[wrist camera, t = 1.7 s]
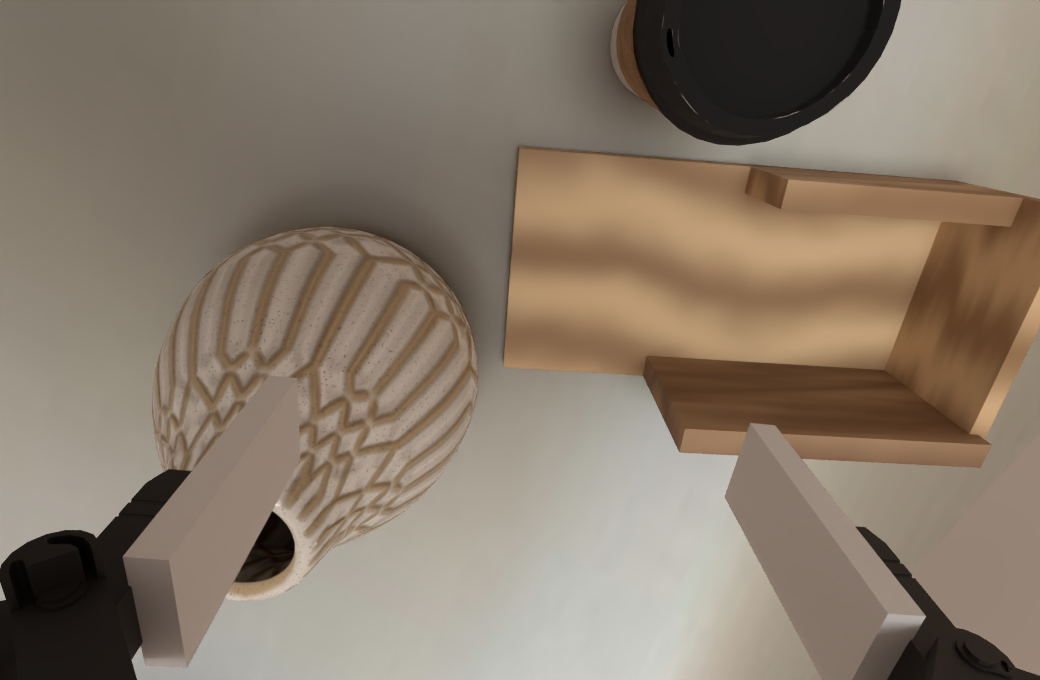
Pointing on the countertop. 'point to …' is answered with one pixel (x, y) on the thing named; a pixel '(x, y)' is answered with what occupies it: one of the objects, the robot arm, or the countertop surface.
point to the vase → (322, 384)
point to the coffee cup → (748, 60)
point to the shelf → (779, 299)
